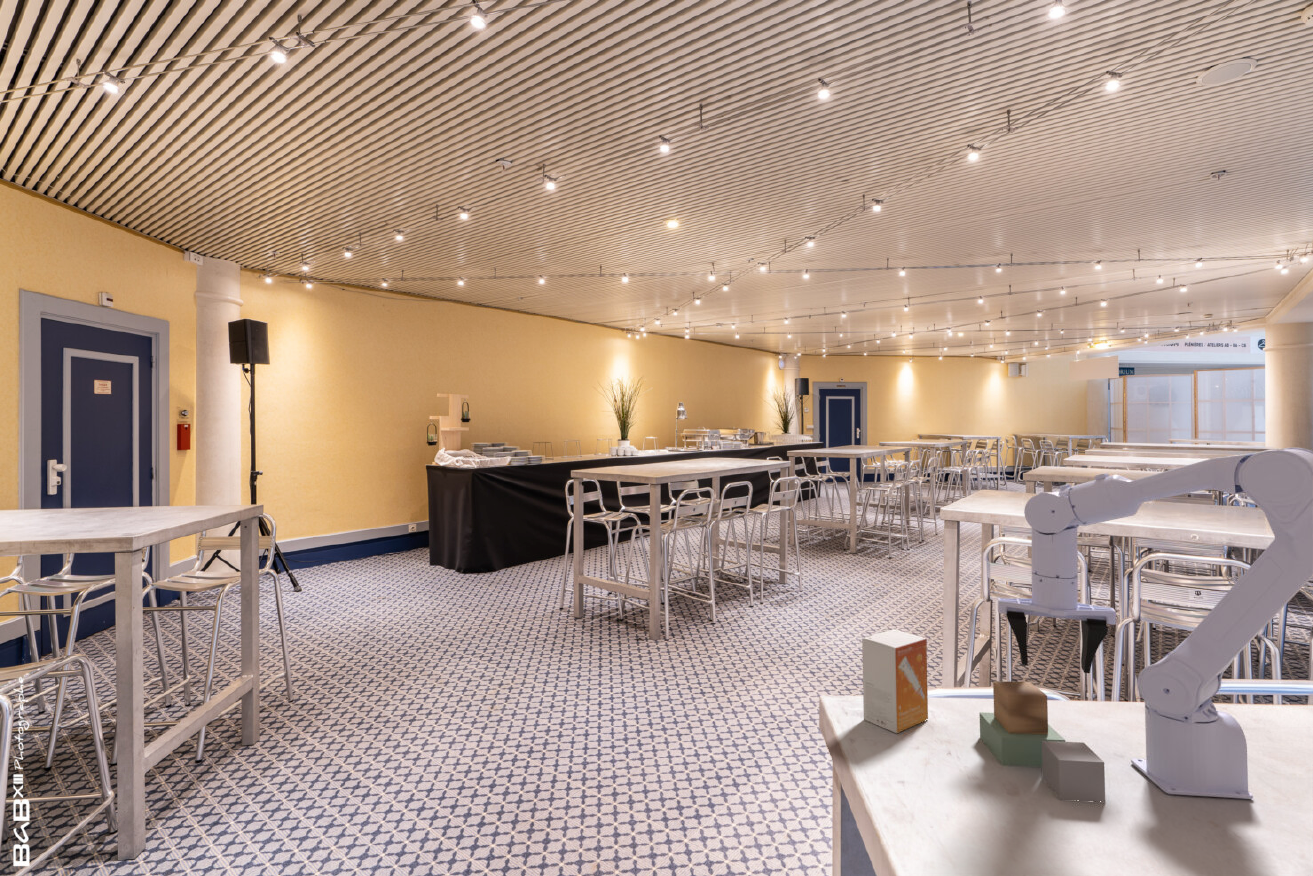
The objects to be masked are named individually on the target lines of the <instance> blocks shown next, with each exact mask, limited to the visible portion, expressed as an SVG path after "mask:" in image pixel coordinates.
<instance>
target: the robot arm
mask: <svg viewBox="0 0 1313 876" xmlns="http://www.w3.org/2000/svg"><path fill="white" fill-rule="evenodd" d="M1204 490H1205V491H1206V490H1214V491H1215V490H1216V491H1219V492H1223V493H1227V494H1231V495H1238V494H1242V493H1245V495H1246V496H1247V497H1248V498H1249V499H1250V500H1251V501H1252V502H1253V503H1254V504H1255V505H1256V506H1257V507H1258V508H1259V509H1260V510H1261V511H1262V512H1263V513H1264V515H1265V517H1266V520H1267V522H1268V525H1269V527H1270V529H1271V531H1272V534H1273V536H1274V539H1273V541H1272V542H1271V543H1270V544H1269V545H1268V546H1267V547H1266V548H1265V549H1264V551H1262V553H1261V554H1260V555H1259V556H1258V557H1257V559H1256V560H1255V561H1254V562H1253V563H1252V564H1251V566H1250V567H1248V569H1247V570H1246V571H1245V572H1244V573H1243V574H1242V575H1241V577H1240V578H1239V579H1238V580H1237V581H1236V582H1235V583H1234V584H1233V586H1231V588H1229V590H1228V591H1227V592H1226V594H1224V595H1223V597H1222V598H1221V599H1220V600H1219V601H1218V602H1217V603H1216V605H1214V607H1213V608H1212V609H1211V610H1210V611H1209V613H1207V615H1206V616H1205V617H1204V618H1203V619H1202V620H1201V621H1200V623H1199V624H1198V625H1197V626H1195V628H1194V630H1192V632H1190V634H1189V635H1188V636H1187V637H1186V638H1185V639H1184V640H1182V642H1181V643H1180V644H1178V646H1176V647H1175V648H1174V649H1173V650H1172V651H1170V652H1168V653H1166V654H1165V655H1164V656H1163V657H1162V659H1160V660H1157V662H1155V663H1153V664H1151V665H1147V666H1145V667H1144V668H1143V669H1142V670H1141V671H1140V672H1139V673H1138V676H1137V688H1138V693H1139V694H1140V696H1141V698H1142V699H1143V700H1144V714H1145V715H1144V716H1145V717H1144V719H1145V721H1144V722H1145V725H1144V727H1145V754H1146V755H1145V759H1144V758H1131V759H1130V763H1131V764H1132V765H1134V766H1135V767H1136V768H1137V769H1138V770H1139V771H1140V772H1142V774H1144V775H1145V776H1146V777H1147V778H1148V779H1149V780H1150V781H1152V782H1153V783H1154V784H1155V785H1156V786H1157V787H1158V788H1159V789H1160V790H1162V791H1163V792H1164V793H1166V794H1168V795H1182V796H1193V797H1194V796H1196V797H1197V796H1198V797H1211V798H1212V797H1213V798H1214V797H1215V798H1226V799H1227V798H1228V799H1229V798H1231V799H1244V800H1245V799H1246V800H1247V799H1249V800H1251V799H1254V794H1253V793H1252V792H1250V791H1249V777H1248V776H1249V774H1248V771H1249V770H1248V744H1247V743H1248V742H1247V739H1246V736H1245V732H1244V730H1243V728H1242V726H1241V724H1240V723H1239V722H1238V721H1237V719H1236V718H1234V717H1233V715H1231V714H1230V713H1228V712H1225V711H1220V710H1217V708H1216V707H1215V704H1214V703H1213V701H1212V698H1213V697H1214V696H1216V695H1217V694H1218V693H1219V692H1220V689H1221V687H1222V677H1223V674H1224V672H1225V671H1227V669H1228V668H1229V667H1230V665H1231V664H1233V661H1234V659H1236V658H1237V657H1238V655H1239V654H1240V653H1241V652H1242V651H1243V650H1244V649H1245V648H1246V647H1247V646H1248V645H1249V644H1250V643H1251V642H1252V641H1253V640H1254V639H1255V637H1256V636H1258V635H1259V633H1260V632H1261V631H1262V630H1264V628H1265V627H1266V626H1267V625H1268V624H1269V623H1270V622H1272V620H1273V619H1274V618H1275V616H1276V615H1278V613H1279V612H1280V611H1282V609H1284V607H1285V606H1286V605H1287V604H1288V603H1289V602H1290V601H1291V600H1292V599H1293V598H1294V597H1295V596H1296V594H1298V592H1300V590H1302V588H1303V587H1304V586H1305V585H1306V584H1307V583H1308V582H1309V581H1310V580H1311V579H1312V578H1313V450H1311V449H1308V448H1303V447H1286V448H1281V449H1266V450H1263V451H1259V452H1253V453H1245V454H1236V455H1229V456H1221V457H1213V458H1208V459H1206V460H1205V459H1204V460H1201V461H1198V462H1194V463H1191V464H1187V465H1184V466H1183V465H1182V466H1180V467H1176V468H1172V469H1170V470H1166V471H1162V472H1159V473H1156V474H1152V475H1148V476H1146V477H1141V478H1137V479H1130V478H1128V477H1124V476H1123V475H1120V474H1112V475H1110V474H1109V472H1105V473H1104V472H1103V473H1100V474H1099V473H1098V474H1095V475H1094V480H1089V481H1087V482H1084V483H1079V484H1075V485H1072V486H1071V484H1070V483H1069V484H1063V485H1060V486H1059V490H1057V491H1051V492H1048V491H1043V492H1040V493H1038V494H1036V495H1035V496H1034V495H1033V496H1032V497H1031V498H1030V499H1028V500H1027V502H1026V504H1025V506H1024V513H1023V514H1024V518H1025V520H1026V522H1027V523H1028V525H1029V526H1030V527H1031V598H1021V597H1019V598H1017V597H1016V598H1014V597H1011V598H1010V597H997V613H998V614H1001V615H1005V617H1006V619H1007V622H1008V623H1009V626H1010V628H1011V630H1012V632H1013V634H1014V637H1015V639H1016V642H1017V646H1018V649H1019V656H1020V662H1021V663H1020V664H1021V665H1022V666H1028V664H1029V663H1028V662H1029V659H1028V658H1029V656H1028V655H1029V654H1028V648H1027V647H1028V646H1027V643H1028V641H1027V638H1028V622H1027V617H1026V616H1034V617H1035V616H1036V617H1044V618H1054V619H1066V620H1074V621H1075V620H1077V621H1080V625H1081V627H1080V628H1081V640H1082V641H1081V657H1080V658H1081V659H1080V663H1081V669H1082V671H1083V673H1084V674H1090V673H1091V668H1092V664H1093V662H1094V658H1095V655H1096V654H1097V651H1098V649H1099V647H1100V645H1101V644H1102V642H1103V640H1105V638H1106V636H1107V635H1108V632H1109V627H1108V625H1113V626H1114V625H1115V626H1116V624H1117V611H1116V610H1115V608H1113V607H1109V606H1100V605H1094V604H1093V605H1092V604H1085V603H1081V602H1078V601H1079V600H1078V599H1079V598H1078V597H1079V593H1078V592H1079V587H1078V586H1079V583H1078V581H1079V580H1078V579H1079V576H1078V575H1079V573H1078V572H1079V568H1078V567H1079V566H1078V565H1079V564H1078V563H1079V562H1078V561H1079V560H1078V559H1079V557H1078V556H1079V555H1078V553H1079V552H1078V551H1079V549H1078V545H1079V544H1078V529H1079V527H1080V526H1082V527H1086V526H1090V525H1096V524H1099V523H1100V524H1101V523H1105V522H1110V521H1114V520H1115V521H1116V520H1119V519H1124V518H1129V517H1133V516H1136V514H1137V512H1138V511H1139V509H1140V508H1141V506H1142V505H1143V504H1144V503H1146V502H1151V501H1156V500H1161V499H1166V498H1171V497H1175V496H1180V495H1185V494H1189V493H1195V492H1200V491H1204Z"/></svg>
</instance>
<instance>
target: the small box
mask: <svg viewBox="0 0 1313 876" xmlns="http://www.w3.org/2000/svg"><path fill="white" fill-rule="evenodd" d="M927 640H928V639H927V638H926V637H923V636H920V635H917V634H912V633H910V632H905V631H902V630H898V629H895V628H894V629H890V630H887V631H883V632H878V633H875V634H873V635H870V636H865V637H862V639H861V641H862V642H861V645H862V649H861V650H862V652H861V653H862V688H863V689H862V692H863V693H862V695H863V701H862V702H863V720H864V721H867V722H869V723H871V724H874V725H875V726H877V727H880V728H883V729H885V730H888V731H890V732H893V733H895V734H899V733H901V732H902V731H904V730H907V729H909V728H912V727H914V726H917V725H919V724H921V722H922V723H923V721H924V722H926V721H925V720H926V719H929V707H928V705H929V703H928V702H929V701H928V699H929V697H928V653H927V652H928V651H927V650H928V646H927V645H928V644H927ZM916 724H917V725H916Z"/></svg>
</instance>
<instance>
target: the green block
mask: <svg viewBox="0 0 1313 876" xmlns="http://www.w3.org/2000/svg"><path fill="white" fill-rule="evenodd" d="M979 738H980V740H981V741H982V742H983V743H984V744H985V745H986V748H988V749H989V751H990V752H991V754H993V755H994V757H995V758H996V759H997V761H998V762H999V763H1000V764H1001V766H1009V767H1011V766H1012V767H1031V768H1032V767H1033V768H1035V767H1037V768H1039V767H1040V768H1042V745H1041V741H1061V742H1066V739H1065V738H1063V736H1062V735H1060V734H1059V733H1058V732H1057V731H1056V730H1055V729H1054V728H1053V727H1052V726H1051V725H1050V724H1049V723H1048V733H1038V732H1009V731H1008V730H1007V729H1006V728H1005V727H1004V726H1003V725H1002V724H1001V723H1000V722H999V721H998V719H997V718H996V717H995V716H994V712H979Z"/></svg>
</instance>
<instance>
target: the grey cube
mask: <svg viewBox="0 0 1313 876" xmlns="http://www.w3.org/2000/svg"><path fill="white" fill-rule="evenodd" d="M1041 745H1042V767H1041V769H1042V770H1041V771H1042V773H1041V774H1042V775H1041V776H1042V778H1041V779H1042V780H1043V782H1045V784H1046V785H1047V786H1048V787H1049V789H1050V790H1051V791H1052V793H1054V795H1055V796H1056V797H1057V799H1058V800H1059V801H1064V800H1076V801H1075V802H1079V801H1093V802H1092V803H1094V802H1100V801H1101V802H1105V803H1106V782H1105V780H1106V779H1105V778H1106V777H1105V774H1106V773H1105V771H1106V770H1105V761H1104V760H1102V759H1101V758H1100V757H1099V756H1098V755H1097V754H1096V753H1095V752H1094V751H1093V750H1092V749H1091V747H1089V746H1088V745H1087V744H1086V743H1085V742H1080V741H1079V742H1076V741H1075V742H1074V741H1065V742H1061V741H1041ZM1077 800H1079V801H1077Z"/></svg>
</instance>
